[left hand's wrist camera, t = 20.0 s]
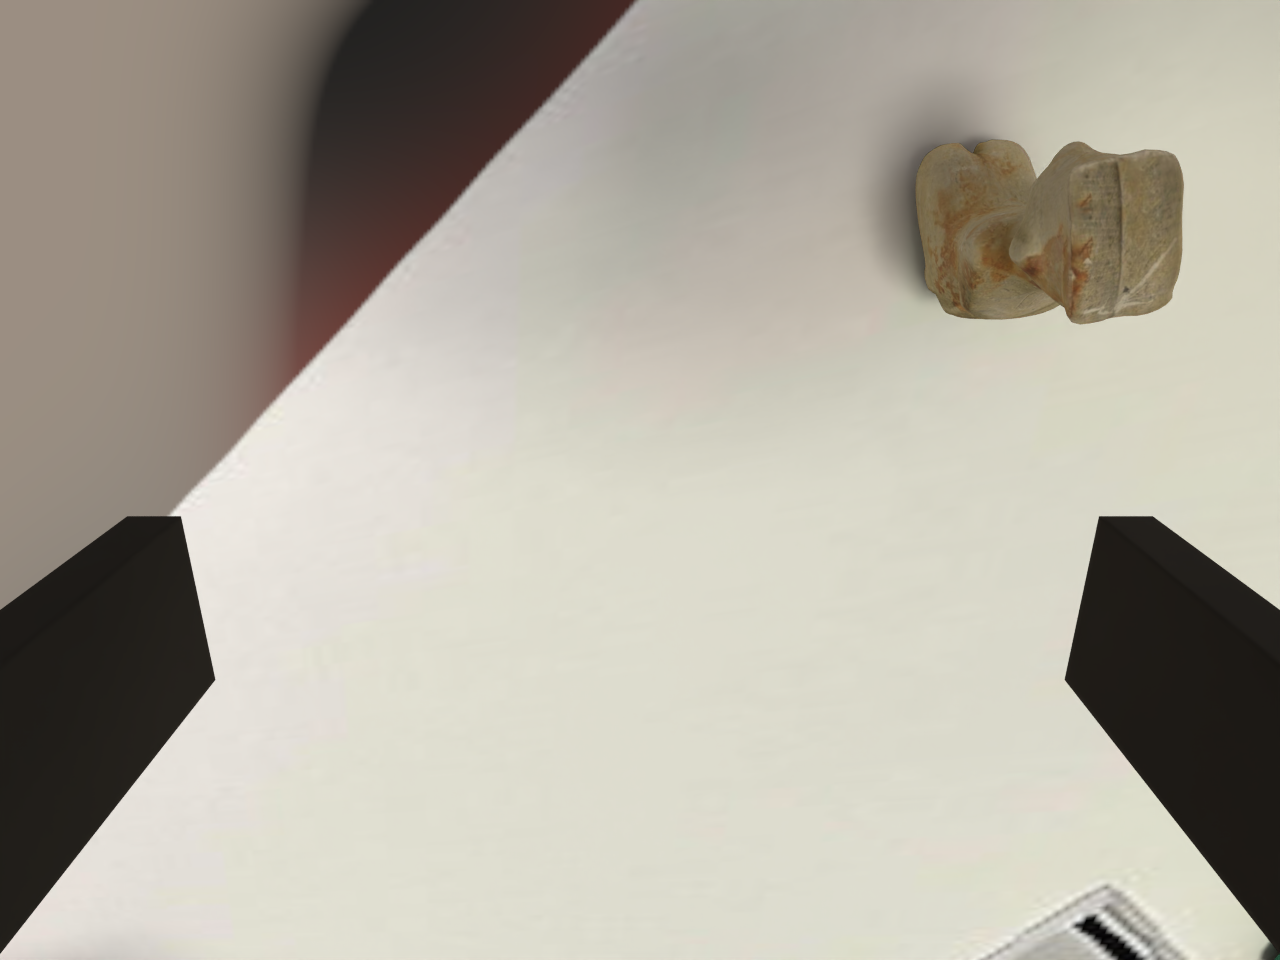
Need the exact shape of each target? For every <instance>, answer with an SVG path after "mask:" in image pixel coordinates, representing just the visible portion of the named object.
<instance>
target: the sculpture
mask: <svg viewBox="0 0 1280 960" xmlns="http://www.w3.org/2000/svg"><path fill="white" fill-rule="evenodd" d="M915 188H916V207H917V215H918V223H919V229H920V235H921V240H922V246H923V251H924V257H925V266H926V268H925V271H924V275H925V280H926V284H927V287H928V289H929V290H930V291H932V292H933V293H935V294H936V296H937V298H938V300H939V302H940V304H941V306H942V308H943V310H944V311H945V312H946V313H948V314H952V315H954V316H957V317H961V318H970V319H1012V318H1021V317H1026V316H1032V315H1037V314H1040V313H1044V312H1046V311H1049V310H1051V309H1053V308H1055V307H1057V306H1059V305H1061V306H1063V307H1064V308H1065V310H1066V314H1067V316H1068V318H1069V319H1070V320H1071V322H1073V323H1077V324H1088V323H1094V322H1099V321H1103V320H1105V319H1108V318H1113V317H1120V316H1138V315H1143V314H1148V313H1151V312H1153V311H1156V310H1158V309H1160V308H1161V307H1163V306H1165V305H1166V304H1167V303H1168V302H1169V301H1170V300H1171V299H1172V292H1173V289H1174V285H1175V283H1176V281H1177V278H1178V275H1179V270H1180V264H1181V257H1182V208H1183V190H1184V182H1183V175H1182V171H1181V167H1180V164H1179V162H1178V160H1177V158H1176V156H1175V155H1173V154H1171V153H1169V152H1167V151H1161V150H1141V151H1138V152H1134V153H1130V154H1123V155H1117V154H1108V153H1101V152H1098V151H1096V150H1094V149H1092V148H1091V147H1089V146H1088V145H1087V144H1085V143H1082V142H1072V143H1070V144H1068V145H1066V146H1064V147H1063V148H1062V149H1061V150H1060V151H1059V152H1058V153H1057V154H1056V156H1055V157H1054V158H1053V160H1052V161H1051V163H1050V164H1049V166H1048V167H1047V168H1046V169H1045V170H1044V171H1043V172H1042V174H1041V175H1040V176H1039V177H1038V178H1036V175H1035V172H1034V169H1033V167H1032V164H1031V162H1030V159H1029V157H1028V155H1027V153H1026V152H1025V150H1024V149H1023V148H1022V147H1021V146H1020V145H1019V144H1017V143H1014V142H1012V141H1008V140H990V141H987V142H983V143H979V144H978V145H977V146H976V148H975V150H974V152H973V153H971V152H969V151H968V150H967V149H966V148H964V147H963V146H962V145H961V144H960V143H951V144H945V145H941V146H939V147H937V148H935V149H933V150H932V151H930V152H929V153H928V154H927V155H926V156H925V157H924V159H923V160H922V163H921V165H920V167H919V170H918V173H917V177H916V187H915Z"/></svg>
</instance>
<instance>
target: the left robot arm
mask: <svg viewBox="0 0 1280 960" xmlns="http://www.w3.org/2000/svg"><path fill="white" fill-rule="evenodd" d="M214 681H215V676H214V671H213V666H212V662H211V657H210V652H209V647H208V643H207V638H206V633H205V629H204V624H203V619H202V614H201V610H200V605H199V600H198V595H197V591H196V586H195V581H194V576H193V572H192V567H191V562H190V557H189V553H188V548H187V543H186V538H185V534H184V529H183V524H182V519H181V516H127V517H126V518H124V519H123V520H122V521H120V522H119V523H118V524H116V525H115V526H114V527H112V528H111V529H110V530H108V531H107V532H105V533H104V534H103V535H101V536H100V537H99V538H97V539H96V540H95V541H93V542H92V543H91V544H89V545H88V546H86V547H85V548H84V549H82V550H81V551H80V552H78V553H77V554H76V555H74V556H73V557H72V558H70V559H69V560H67V561H66V562H65V563H63V564H62V565H61V566H59V567H58V568H57V569H55V570H54V571H53V572H51V573H50V574H48V575H47V576H46V577H44V578H43V579H42V580H40V581H39V582H38V583H36V584H35V585H34V586H32V587H31V588H29V589H28V590H27V591H25V592H24V593H23V594H21V595H20V596H19V597H17V598H16V599H15V600H13V601H12V602H10V603H9V604H8V605H6V606H5V607H4V608H2V609H1V610H0V953H1V952H2V951H3V950H4V948H5V947H6V946H7V944H8V943H9V942H10V941H11V939H12V938H13V937H14V936H15V934H16V933H17V932H18V930H19V929H20V928H21V927H22V925H23V924H24V923H25V922H26V920H27V919H28V918H29V916H30V915H31V914H32V913H33V911H34V910H35V909H36V908H37V906H38V905H39V904H40V902H41V901H42V900H43V899H44V897H45V896H46V895H47V894H48V892H49V891H50V890H51V888H52V887H53V886H54V885H55V883H56V882H57V881H58V880H59V878H60V877H61V876H62V874H63V873H64V872H65V871H66V869H67V868H68V867H69V866H70V864H71V863H72V862H73V860H74V859H75V858H76V857H77V855H78V854H79V853H80V851H81V850H82V849H83V848H84V846H85V845H86V844H87V843H88V841H89V840H90V839H91V837H92V836H93V835H94V834H95V832H96V831H97V830H98V829H99V827H100V826H101V825H102V823H103V822H104V821H105V820H106V818H107V817H108V816H109V815H110V813H111V812H112V811H113V809H114V808H115V807H116V806H117V804H118V803H119V802H120V801H121V799H122V798H123V797H124V795H125V794H126V793H127V792H128V790H129V789H130V788H131V787H132V785H133V784H134V783H135V781H136V780H137V779H138V778H139V776H140V775H141V774H142V773H143V771H144V770H145V769H146V767H147V766H148V765H149V764H150V762H151V761H152V760H153V759H154V757H155V756H156V755H157V753H158V752H159V751H160V750H161V748H162V747H163V746H164V744H165V743H166V742H167V741H168V739H169V738H170V737H171V736H172V734H173V733H174V732H175V730H176V729H177V728H178V727H179V725H180V724H181V723H182V722H183V720H184V719H185V718H186V716H187V715H188V714H189V713H190V711H191V710H192V709H193V708H194V706H195V705H196V704H197V702H198V701H199V700H200V699H201V697H202V696H203V695H204V694H205V692H206V691H207V690H208V688H209V687H210V686H211V685H212V683H213V682H214ZM1065 681H1066V682H1067V683H1068V685H1069V686H1070V687H1071V688H1072V690H1073V691H1074V692H1075V694H1076V695H1077V696H1078V697H1079V699H1080V700H1081V701H1082V702H1083V704H1084V705H1085V706H1086V708H1087V709H1088V710H1089V711H1090V713H1091V714H1092V715H1093V716H1094V718H1095V719H1096V720H1097V722H1098V723H1099V724H1100V725H1101V727H1102V728H1103V729H1104V730H1105V732H1106V733H1107V734H1108V736H1109V737H1110V738H1111V739H1112V741H1113V742H1114V743H1115V744H1116V746H1117V747H1118V748H1119V750H1120V751H1121V752H1122V753H1123V755H1124V756H1125V757H1126V759H1127V760H1128V761H1129V762H1130V764H1131V765H1132V766H1133V767H1134V769H1135V770H1136V771H1137V773H1138V774H1139V775H1140V776H1141V778H1142V779H1143V780H1144V781H1145V783H1146V784H1147V785H1148V787H1149V788H1150V789H1151V790H1152V792H1153V793H1154V794H1155V795H1156V797H1157V798H1158V799H1159V801H1160V802H1161V803H1162V804H1163V806H1164V807H1165V808H1166V809H1167V811H1168V812H1169V813H1170V815H1171V816H1172V817H1173V818H1174V820H1175V821H1176V822H1177V823H1178V825H1179V826H1180V827H1181V829H1182V830H1183V831H1184V832H1185V834H1186V835H1187V836H1188V837H1189V839H1190V840H1191V841H1192V843H1193V844H1194V845H1195V846H1196V848H1197V849H1198V850H1199V851H1200V853H1201V854H1202V855H1203V857H1204V858H1205V859H1206V860H1207V862H1208V863H1209V864H1210V866H1211V867H1212V868H1213V869H1214V871H1215V872H1216V873H1217V874H1218V876H1219V877H1220V878H1221V880H1222V881H1223V882H1224V883H1225V885H1226V886H1227V887H1228V888H1229V890H1230V891H1231V892H1232V894H1233V895H1234V896H1235V897H1236V899H1237V900H1238V901H1239V902H1240V904H1241V905H1242V906H1243V908H1244V909H1245V910H1246V911H1247V913H1248V914H1249V915H1250V916H1251V918H1252V919H1253V920H1254V922H1255V923H1256V924H1257V925H1258V927H1259V928H1260V929H1261V930H1262V932H1263V933H1264V934H1265V936H1266V937H1267V938H1268V939H1269V941H1270V942H1271V943H1272V944H1273V946H1274V947H1275V948H1276V950H1277V951H1278V952H1279V953H1280V610H1279V609H1278V608H1276V607H1275V606H1274V605H1272V604H1271V603H1270V602H1268V601H1267V600H1266V599H1264V598H1263V597H1261V596H1260V595H1259V594H1257V593H1256V592H1255V591H1253V590H1252V589H1251V588H1249V587H1248V586H1247V585H1245V584H1244V583H1242V582H1241V581H1240V580H1238V579H1237V578H1236V577H1234V576H1233V575H1232V574H1230V573H1229V572H1228V571H1226V570H1225V569H1223V568H1222V567H1221V566H1219V565H1218V564H1217V563H1215V562H1214V561H1213V560H1211V559H1210V558H1208V557H1207V556H1206V555H1204V554H1203V553H1202V552H1200V551H1199V550H1198V549H1196V548H1195V547H1194V546H1192V545H1191V544H1189V543H1188V542H1187V541H1185V540H1184V539H1183V538H1181V537H1180V536H1179V535H1177V534H1176V533H1175V532H1173V531H1172V530H1170V529H1169V528H1168V527H1166V526H1165V525H1164V524H1162V523H1161V522H1160V521H1158V520H1157V519H1156V518H1154V517H1153V516H1099V519H1098V524H1097V529H1096V534H1095V538H1094V543H1093V548H1092V553H1091V557H1090V562H1089V567H1088V572H1087V576H1086V581H1085V586H1084V591H1083V595H1082V600H1081V605H1080V610H1079V614H1078V619H1077V624H1076V629H1075V633H1074V638H1073V643H1072V647H1071V652H1070V657H1069V662H1068V666H1067V671H1066V676H1065Z"/></svg>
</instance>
